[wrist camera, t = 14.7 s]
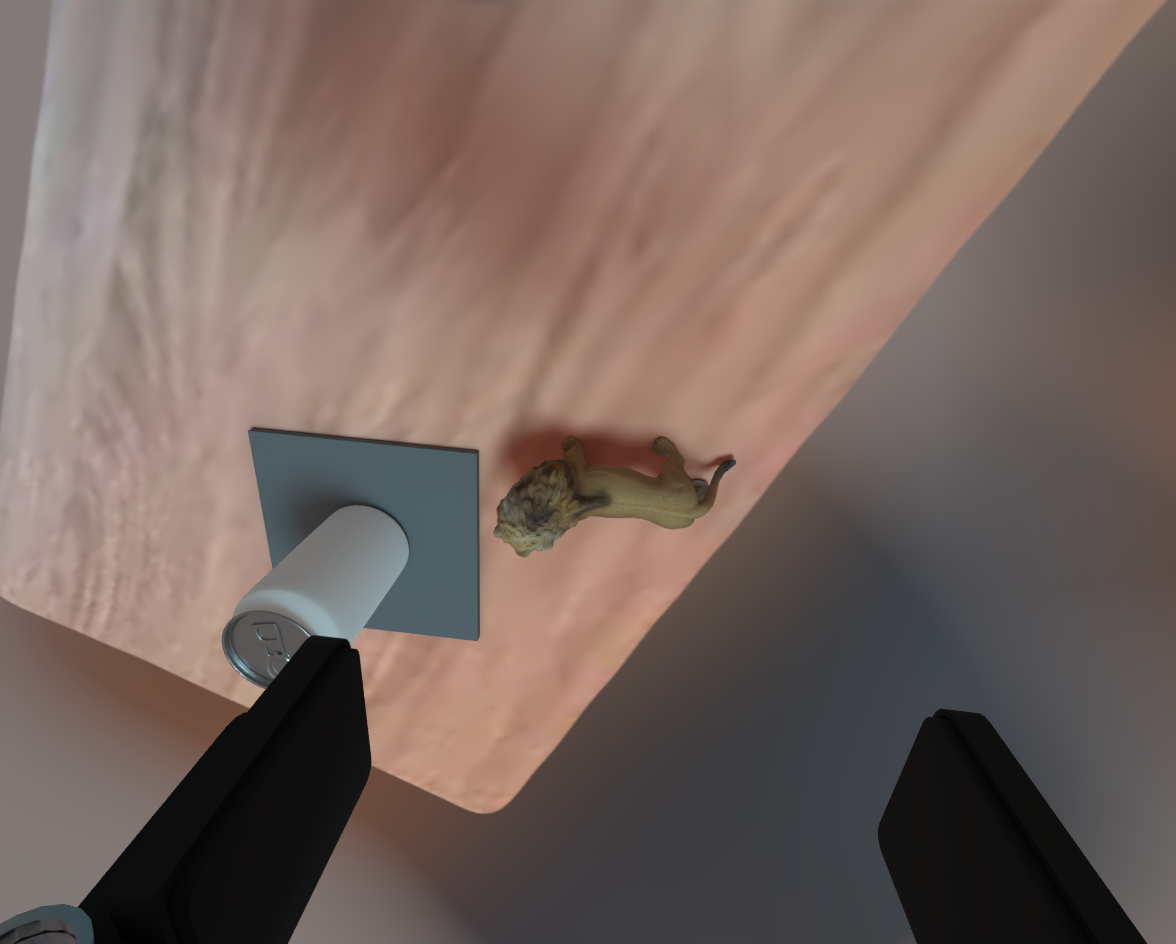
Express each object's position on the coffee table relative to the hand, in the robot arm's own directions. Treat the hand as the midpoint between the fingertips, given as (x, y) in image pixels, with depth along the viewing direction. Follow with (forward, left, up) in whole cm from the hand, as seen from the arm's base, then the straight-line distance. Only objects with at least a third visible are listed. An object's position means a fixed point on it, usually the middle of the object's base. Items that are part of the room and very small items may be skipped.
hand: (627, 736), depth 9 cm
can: (+15, -18, -28) cm, 36 cm away
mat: (+15, -18, -28) cm, 37 cm away
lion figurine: (+8, 0, -29) cm, 30 cm away
